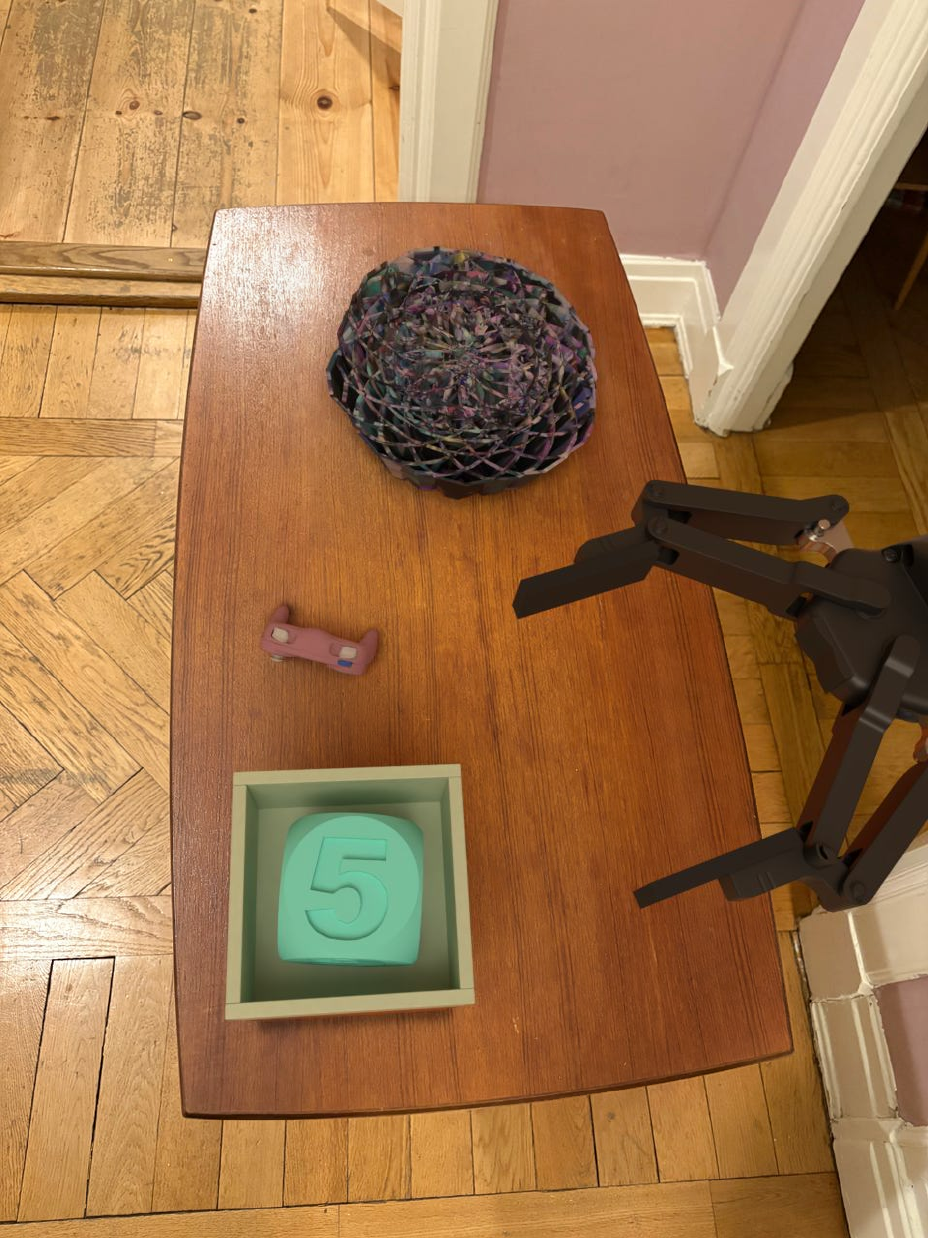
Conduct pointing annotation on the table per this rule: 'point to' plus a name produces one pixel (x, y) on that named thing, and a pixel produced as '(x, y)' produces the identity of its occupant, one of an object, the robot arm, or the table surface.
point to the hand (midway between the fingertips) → (577, 740)
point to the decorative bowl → (464, 371)
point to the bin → (255, 877)
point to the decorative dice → (351, 891)
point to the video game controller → (317, 645)
